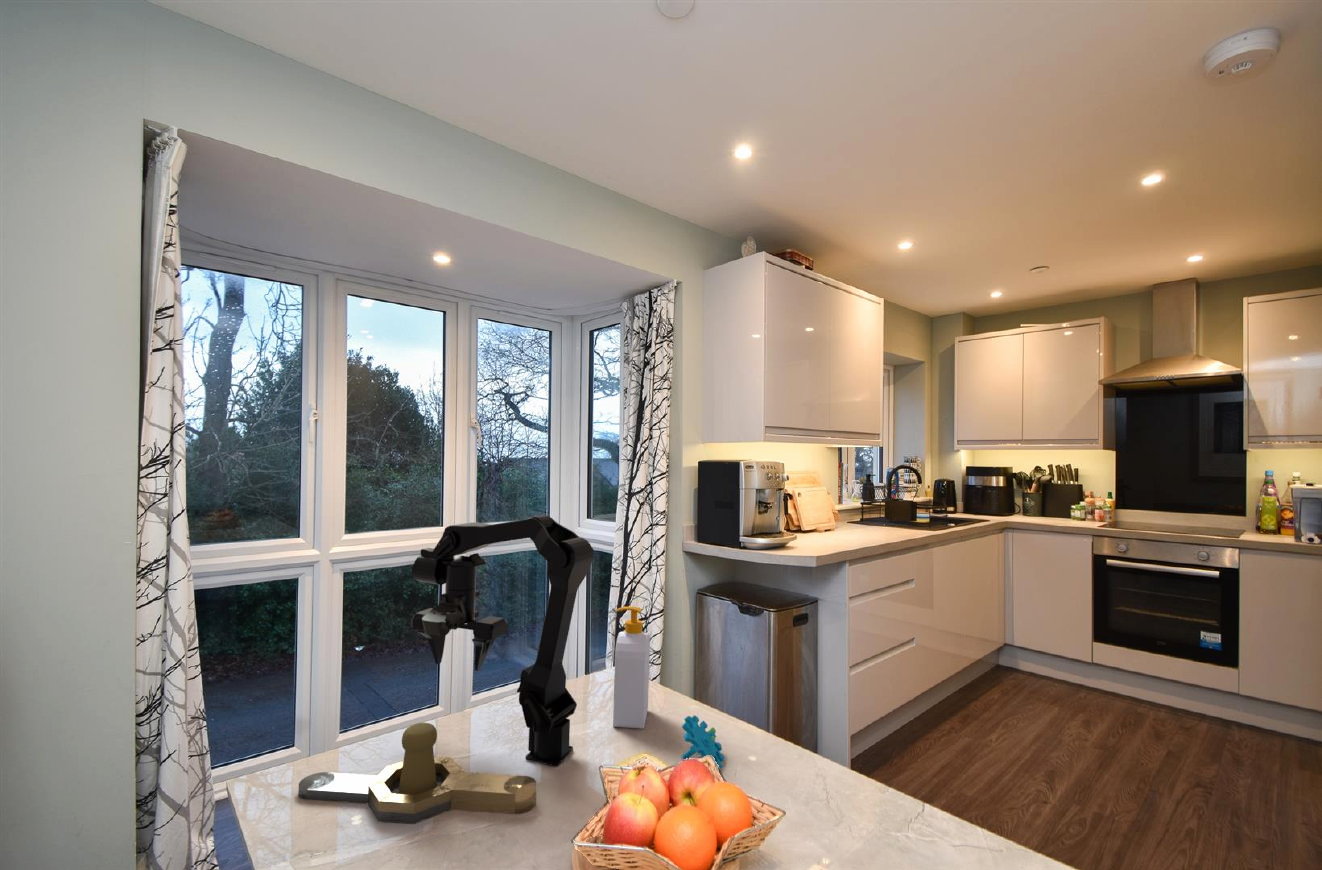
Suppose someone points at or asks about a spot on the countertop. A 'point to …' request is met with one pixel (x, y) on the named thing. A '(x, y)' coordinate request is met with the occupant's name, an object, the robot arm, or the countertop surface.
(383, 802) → the upper chain end
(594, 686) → the countertop surface
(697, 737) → the teal irregular branched piece
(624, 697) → the soap bottle
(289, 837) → the countertop surface
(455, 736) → the countertop surface
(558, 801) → the countertop surface
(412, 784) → the cork
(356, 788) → the lower chain end
